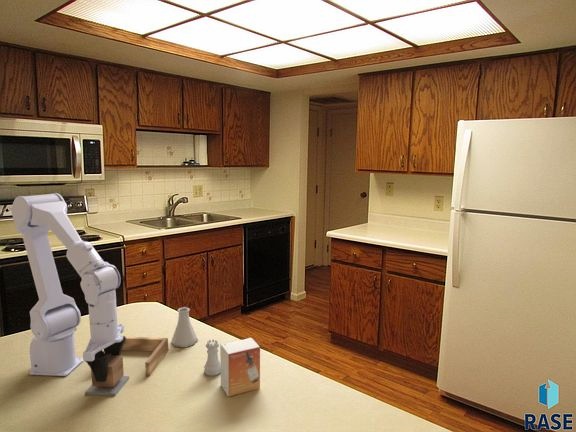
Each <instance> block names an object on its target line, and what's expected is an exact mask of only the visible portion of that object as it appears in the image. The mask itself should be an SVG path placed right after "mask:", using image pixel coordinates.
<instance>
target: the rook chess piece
mask: <svg viewBox="0 0 576 432" xmlns="http://www.w3.org/2000/svg"><path fill="white" fill-rule="evenodd" d="M219 347H220V344H219V343H218V340H216V339H212V340H211V339H209V340H208V341H207V342H206V345H205V348H206V349H207V351H206V353H207V359H206V362H205V364H204V366H203V368H204V370H203V371H204V373H205V375H207V376H209V377H215V376H218V375H220V374H221V360H219V355H218V354H219V353H218V352H219Z"/></svg>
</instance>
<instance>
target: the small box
mask: <svg viewBox="0 0 576 432" xmlns="http://www.w3.org/2000/svg"><path fill="white" fill-rule="evenodd" d="M219 347H220V351H219V352H220V355H219V356H220V363H221V372H220V386H221V387H222V389H223V390H224V392H225V394H226V396H227V397H228V398H229V397H233V396H236V395H240V394H243V393H247V392H250V391H254V390H258V389H260V388H261V347H260V346H259V344H258V343H257V342H256V341H255V340H254V339H253V338H252V337H248V338H245V339H239V340H236V341H231V342H226V343H220V344H219Z"/></svg>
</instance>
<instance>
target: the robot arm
mask: <svg viewBox="0 0 576 432" xmlns="http://www.w3.org/2000/svg"><path fill="white" fill-rule="evenodd" d="M10 210H11V214H12V218H13V219H12V220H13V223H14V226H15V231H16V232H17V233H19V234H21V236H22V239H23V244H24V247H25V250H26V254H27V258H28V262H29V267H30V269H31V273H32V277H33V281H34V286H35V289H36V292H37V296H38V301H37V302H36V304H35V305H34V306H32V308H31V309H30V311H29V316H30V325H29V326H30V331H31V333H32V335H33V338H32V339H31V341H30V345H29V358H30V367H31V371H29V375H30V376H31V375H32V376H53V377H54V376H55V377H57V376H58V377H61V376H62V377H66V376H68V375H69V374H70V373H72V371H74V370H75V369H76V367H78V365H80V364H82V362H86V364H87V365H88V366H89V368H90V371H91V370H92V372H93V375H94V377H95V380H96V382H105V381H106V378H107V367H108V362H109V358H110V356H111V355H119V356H121V352H122V351H123V350H122V347H123V345H124V342H125V340H126V337H127V336H125V335H121V334H123V332H125V330H124V329H125V328H124V327H125V326H124V324H123V323H118V313H117V312H118V310H117V309H118V308H117V295H116V294H117V293H116V289H118V288H119V287H120V285H121V282H122V281H121V280H122V279H121V278H122V277H121V273H120V272H119V270H118V269H117V268H118V267H116V266H115V265H114V264H111V263H109V262H108V261H104V259H103V258H102V257H101V256H100V254H99V253H98V251H97V250H96V249H95V248H94V246H93V244H92V243H90V242H89V241H84V240H82V238H81V236H80V235H79V233H78V231H77V230H76V228H75V226H74V224H73V223H72V221H71V219H70V218H69V216H68V204H67V203H66V202H65V199H64V198H63V196H62V195H61V194H60V193H57V192H53V193H48V194H37V195H26V196H23V195H19V196H16V197H14V201H13V203H12V206H11V208H10ZM50 231H51V232H52V233H53V234H54V236H56V237H57V239H58V240H59V242H61V243H62V245H64V247H65V248H66V249H67V250H66V258H67V260H68V262H69V263H70V264H71V265H72V267H73V268H74V270H75V271H76V273H77V274H78V275H79V277H80V278H81V281H80V283H79V284H80V288H81V290H82V292H83V294H84V300H85V302H86V304H88V316H89V317H88V318H89V329H90V330H89V333H90V338H89V341H88V343H87V346H86V348H85V350H84V351H83V352H82V357H77V354H76V340H75V332H76V331H77V327H78V326H80V323H81V320H82V316H81V311H80V309H79V308H78V306H77V304H76V301H75V299H74V298H73V297H71V296H69V295H67V294H64V293H63V289H62V286H61V282H60V278H59V274H58V269H57V266H56V263H55V259H54V255H53V251H52V248H51V243H50V239H49V236H48V232H50ZM104 352H105V353H104Z"/></svg>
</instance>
